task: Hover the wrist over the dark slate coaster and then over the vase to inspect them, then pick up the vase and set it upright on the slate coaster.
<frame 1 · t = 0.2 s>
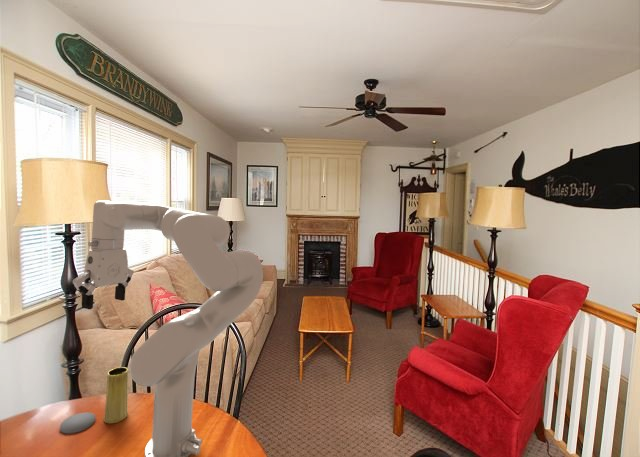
hand: (104, 303, 87), 36 cm above the table, tool pointing down, fingers open, 9 cm apart
coaster: (78, 423, 89), on the table
vase: (115, 417, 93), on the table
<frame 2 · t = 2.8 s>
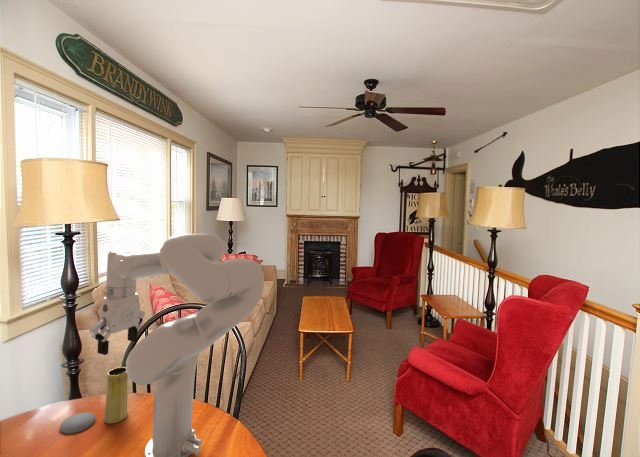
hand: (118, 347, 92), 22 cm above the table, tool pointing down, fingers open, 9 cm apart
nothing on the table moved.
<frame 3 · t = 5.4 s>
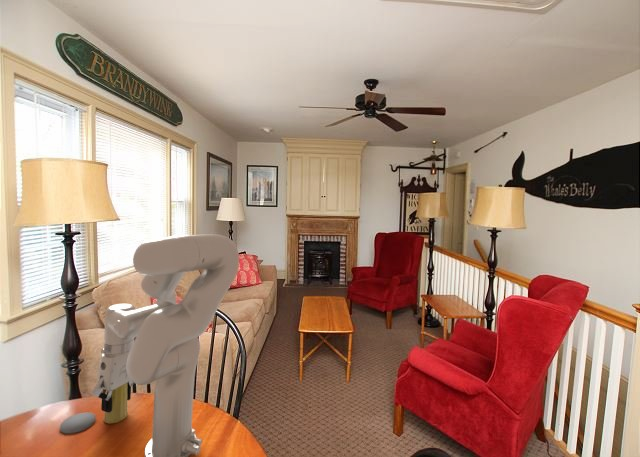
hand: (116, 404, 92), 4 cm above the table, tool pointing down, fingers closed on vase, 5 cm apart
vase: (115, 417, 93), on the table, touching gripper
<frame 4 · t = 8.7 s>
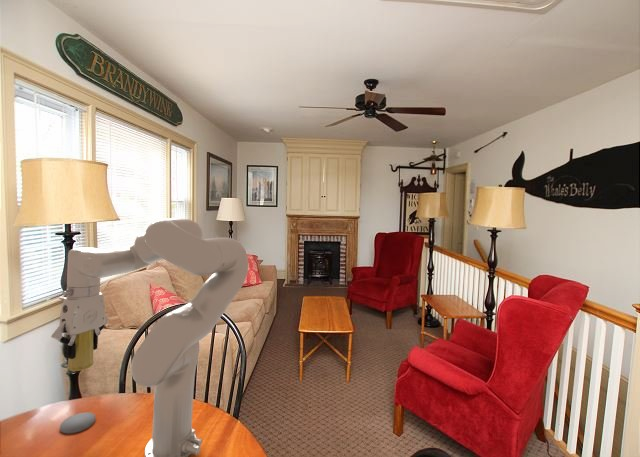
hand: (81, 352, 88), 21 cm above the table, tool pointing down, fingers closed on vase, 5 cm apart
vase: (80, 366, 88), point 17 cm above the table, touching gripper
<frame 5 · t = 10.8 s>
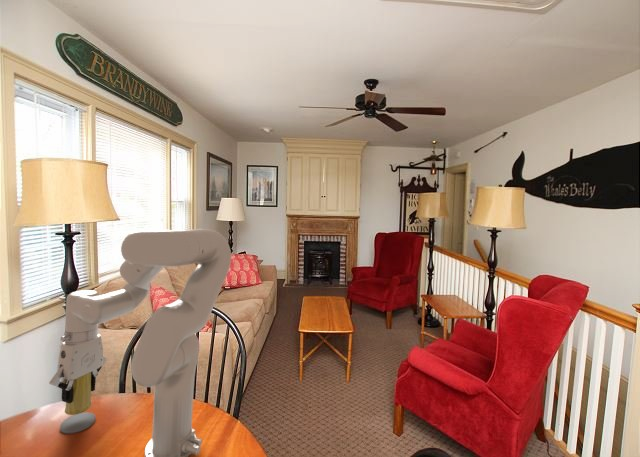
hand: (79, 395, 88), 9 cm above the table, tool pointing down, fingers closed on vase, 5 cm apart
vase: (78, 409, 89), point 4 cm above the table, touching gripper
when the fingers open (6 cm above the table, at t = 12.2 s): vase drops 1 cm, resting on coaster.
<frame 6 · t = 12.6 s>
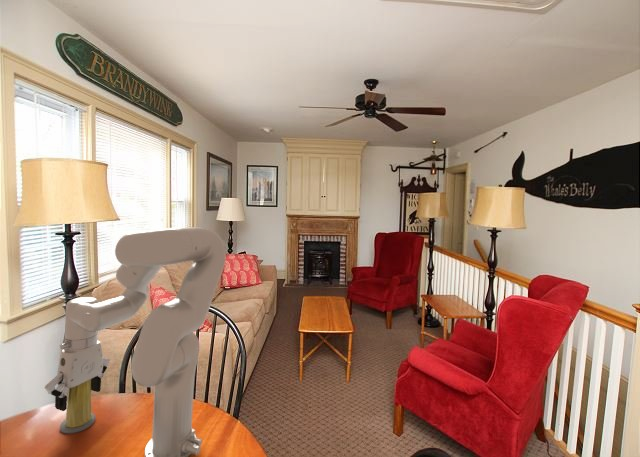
hand: (79, 399, 88), 7 cm above the table, tool pointing down, fingers open, 9 cm apart
vase: (78, 421, 89), point 1 cm above the table, touching coaster
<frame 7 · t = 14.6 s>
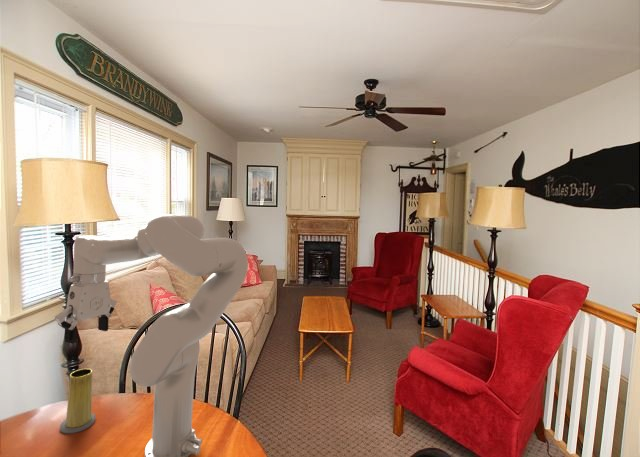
hand: (87, 336, 90), 25 cm above the table, tool pointing down, fingers open, 9 cm apart
nothing on the table moved.
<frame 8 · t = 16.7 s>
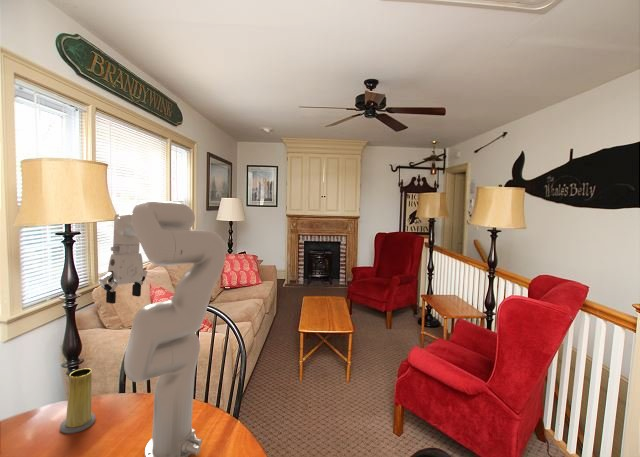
hand: (124, 299, 104), 32 cm above the table, tool pointing down, fingers open, 9 cm apart
nothing on the table moved.
at the end: vase 0.2 cm from the coaster (horizontally); vase tilted 1°; vase touching coaster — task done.
